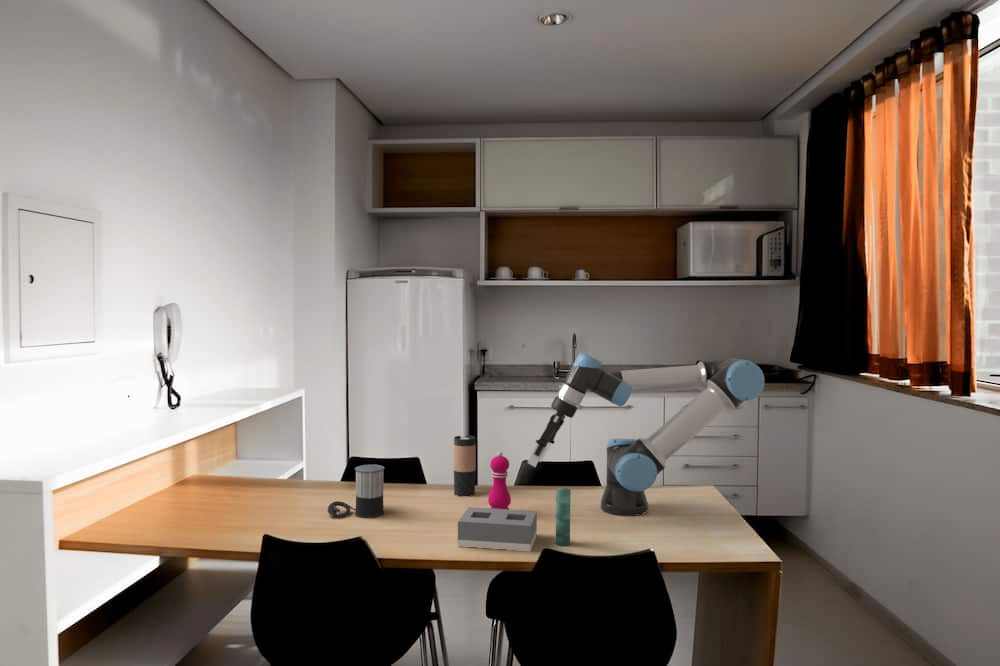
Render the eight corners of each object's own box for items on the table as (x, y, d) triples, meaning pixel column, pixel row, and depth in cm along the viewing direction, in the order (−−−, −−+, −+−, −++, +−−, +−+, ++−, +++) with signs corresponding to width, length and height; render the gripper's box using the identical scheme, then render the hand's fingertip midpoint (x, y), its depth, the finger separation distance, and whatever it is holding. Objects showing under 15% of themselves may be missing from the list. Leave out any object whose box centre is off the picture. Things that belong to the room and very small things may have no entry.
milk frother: (390, 514, 221) (390, 467, 220) (348, 525, 209) (348, 476, 209) (363, 505, 230) (363, 460, 230) (322, 515, 219) (321, 468, 218)
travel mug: (467, 498, 239) (467, 440, 239) (449, 494, 243) (449, 437, 243) (479, 493, 246) (480, 436, 245) (461, 490, 250) (462, 434, 249)
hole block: (536, 535, 201) (536, 510, 201) (530, 551, 187) (530, 525, 187) (468, 530, 205) (468, 507, 204) (457, 546, 191) (457, 521, 191)
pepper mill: (508, 518, 217) (508, 454, 216) (485, 516, 218) (486, 453, 218) (512, 511, 224) (513, 449, 223) (490, 510, 226) (491, 448, 225)
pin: (570, 541, 196) (571, 488, 195) (569, 546, 192) (570, 492, 191) (556, 540, 196) (556, 487, 196) (554, 545, 192) (555, 491, 192)
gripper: (560, 394, 226) (529, 452, 226) (551, 395, 201) (517, 460, 202) (581, 405, 224) (550, 463, 225) (574, 408, 200) (539, 473, 200)
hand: (534, 462), depth 213 cm, fingers open, 13 cm apart
